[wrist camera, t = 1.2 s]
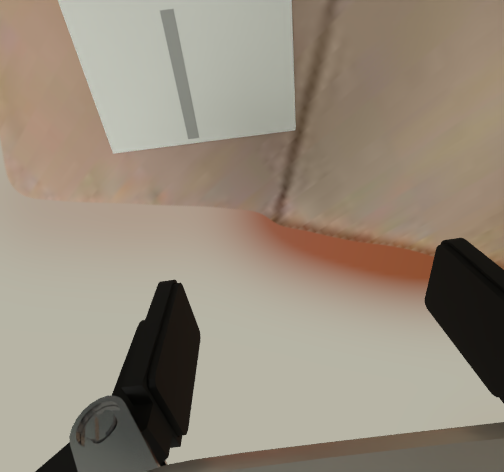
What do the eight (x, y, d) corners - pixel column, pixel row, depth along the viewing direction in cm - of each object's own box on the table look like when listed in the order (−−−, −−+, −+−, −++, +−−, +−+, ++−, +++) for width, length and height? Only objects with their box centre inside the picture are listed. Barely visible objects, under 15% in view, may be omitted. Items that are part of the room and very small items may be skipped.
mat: (56, -12, 24) (52, -14, 24) (288, -44, 24) (290, -47, 24) (115, 152, 32) (113, 153, 31) (294, 129, 31) (295, 130, 31)
